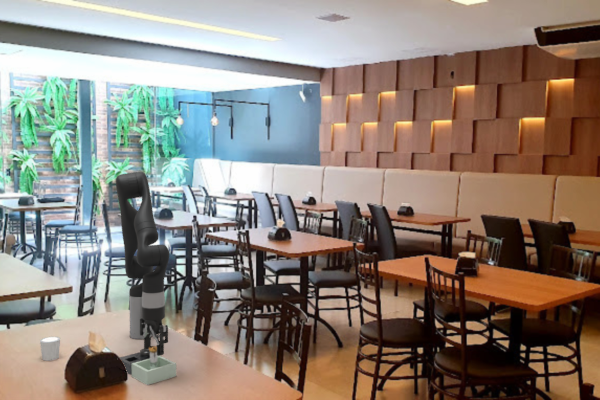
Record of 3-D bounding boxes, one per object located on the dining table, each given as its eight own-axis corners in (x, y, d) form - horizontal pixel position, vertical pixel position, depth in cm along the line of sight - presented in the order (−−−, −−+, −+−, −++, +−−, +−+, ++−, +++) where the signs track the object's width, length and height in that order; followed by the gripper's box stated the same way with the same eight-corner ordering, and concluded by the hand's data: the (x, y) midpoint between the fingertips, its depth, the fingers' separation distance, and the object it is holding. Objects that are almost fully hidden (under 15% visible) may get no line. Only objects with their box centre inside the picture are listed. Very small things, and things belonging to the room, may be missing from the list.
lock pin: (155, 370, 196) (155, 345, 195) (160, 373, 193) (160, 347, 193) (147, 373, 193) (146, 347, 193) (152, 375, 191) (151, 349, 190)
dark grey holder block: (148, 359, 209) (148, 342, 209) (161, 365, 203) (161, 348, 202) (117, 367, 201) (117, 350, 200) (130, 374, 194) (130, 356, 194)
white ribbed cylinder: (53, 362, 205) (52, 343, 205) (36, 360, 207) (35, 341, 206) (64, 355, 212) (64, 337, 211) (48, 353, 213) (47, 335, 213)
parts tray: (160, 368, 201) (160, 355, 200) (176, 376, 194) (176, 363, 193) (131, 376, 193) (131, 363, 193) (147, 385, 186) (147, 371, 186)
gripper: (175, 306, 189) (175, 354, 190) (152, 298, 199) (152, 344, 200) (155, 310, 184) (155, 360, 185) (132, 302, 194) (132, 349, 195)
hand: (153, 351), depth 193 cm, fingers open, 7 cm apart
